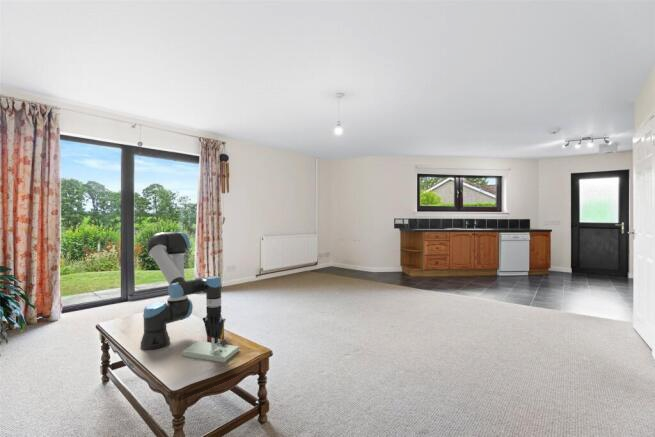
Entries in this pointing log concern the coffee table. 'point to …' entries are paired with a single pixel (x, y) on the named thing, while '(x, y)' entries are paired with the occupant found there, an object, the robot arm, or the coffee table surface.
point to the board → (210, 351)
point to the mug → (219, 336)
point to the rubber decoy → (223, 342)
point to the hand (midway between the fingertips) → (214, 348)
